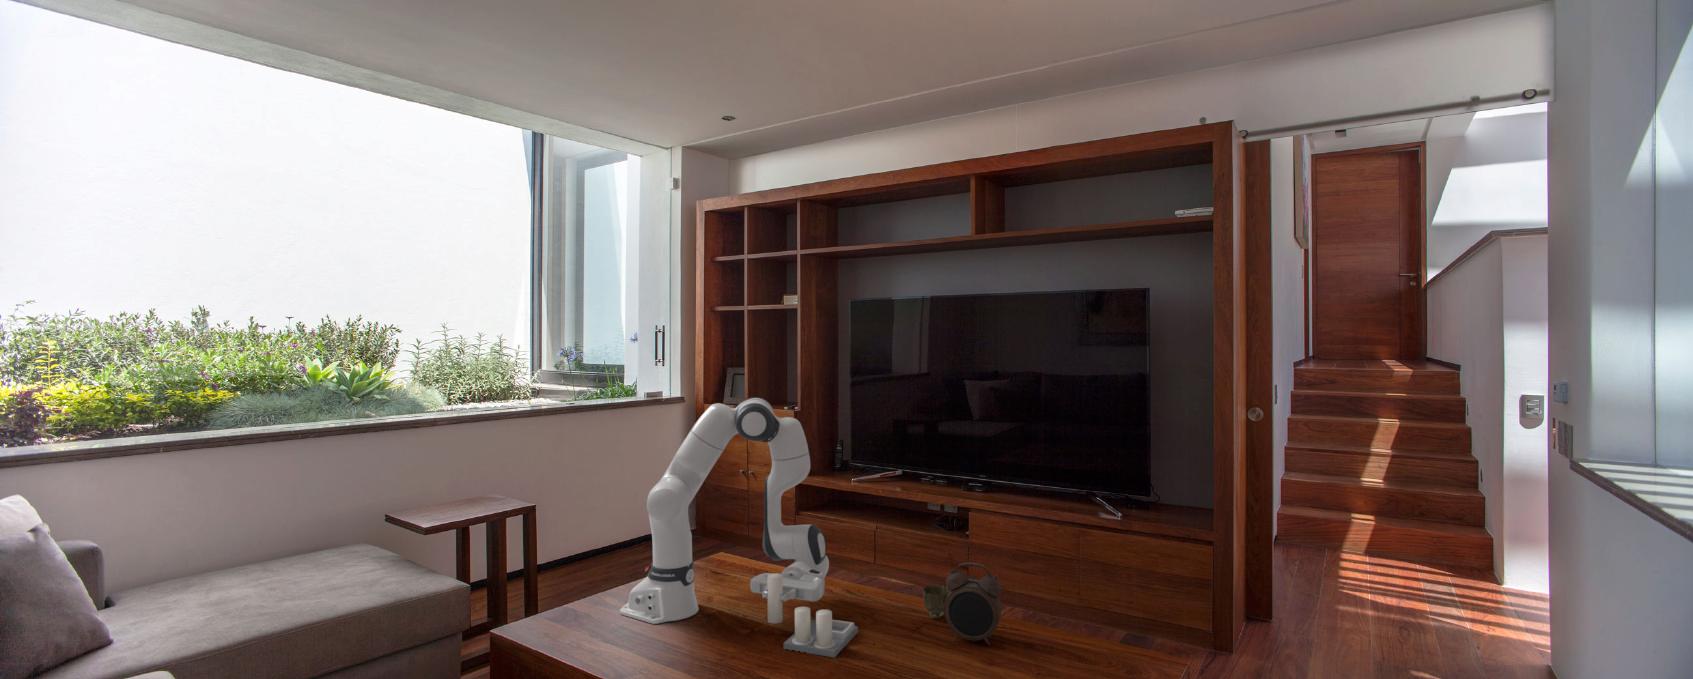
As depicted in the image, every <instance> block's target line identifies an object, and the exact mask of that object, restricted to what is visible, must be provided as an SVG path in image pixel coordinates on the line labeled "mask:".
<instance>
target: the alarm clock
mask: <svg viewBox="0 0 1693 679" xmlns="http://www.w3.org/2000/svg"><path fill="white" fill-rule="evenodd" d="M967 566H971V567H977V568H978V567H979V568H981V569H984V570H985V572H986V575H984V576H982V577H981V578H980V579H977V575H975V574H970V575H969V577H968V575H967V574H965V572H963V571H959V569H960V568H961V567H967ZM949 572H950V573H949V574H947V578H946V581H945V583H946V587H948V589H949V594H948V596H947V598H946V602H945V607H944V612H943V614H944V617H945V620H946V623H947V625H948V626H949V628H950V629H951V631H952V632H953V633H954V634H955V636H954V638H952V639H953V641H954V642H956V640H957V639H958V638H959V637H960V638H962V639H963V640H964V639H965V640H968V641H975V642H976V641H982V640H984V641H985V643H987V644H990V645H991V643H990V641H989V639H988V638H991V637H992V634H993V633H994V632H995V631H996V630H997V628H998V626H999V624H1000V621H1001V619H1002V603H1001V599H1000V597H999V596H1000V594H1001V592H1002V587H1003V586H1002V582H1000V580H999V579H998V575H997V574H995V575H992V572H991V571H990V570H989V568H988V567H987V566H986V565H984V564H981V563H978V562H977V563H976V562H963V563H959V564H958V565H957V566H956V568H955V570H954V569H952V568H951V569H950V570H949ZM987 644H986V645H987Z"/></svg>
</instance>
